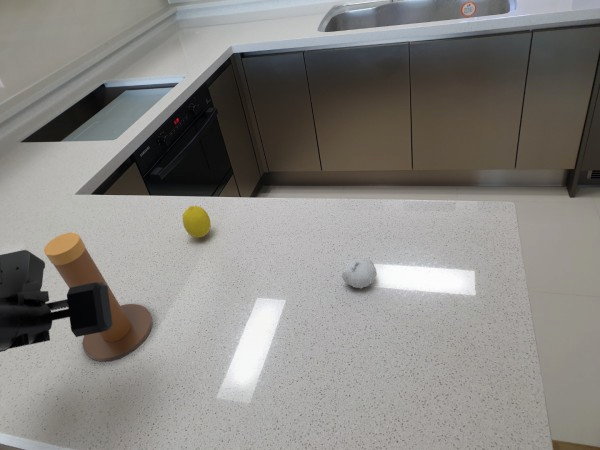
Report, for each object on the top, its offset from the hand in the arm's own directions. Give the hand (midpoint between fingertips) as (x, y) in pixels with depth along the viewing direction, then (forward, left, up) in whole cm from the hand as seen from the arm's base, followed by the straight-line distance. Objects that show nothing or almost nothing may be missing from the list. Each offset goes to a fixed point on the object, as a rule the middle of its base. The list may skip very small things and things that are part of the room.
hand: (69, 316), depth 66 cm
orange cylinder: (+5, +7, -13) cm, 15 cm away
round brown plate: (+5, +7, -14) cm, 16 cm away
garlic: (+40, -18, -14) cm, 46 cm away
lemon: (+29, +18, -14) cm, 37 cm away
